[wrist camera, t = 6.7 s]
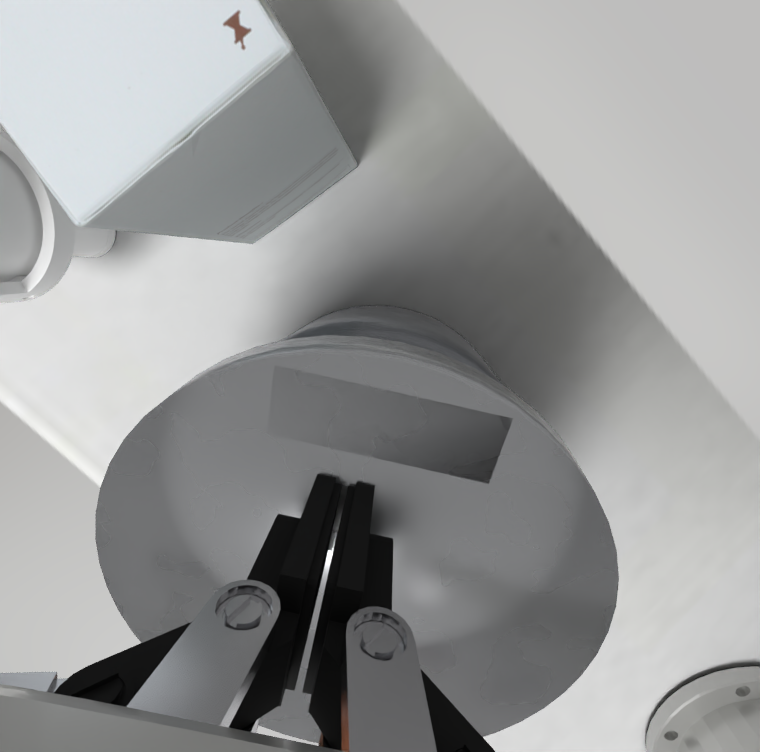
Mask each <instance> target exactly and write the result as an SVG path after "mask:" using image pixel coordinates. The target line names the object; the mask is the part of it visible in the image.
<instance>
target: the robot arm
mask: <svg viewBox="0 0 760 752" xmlns="http://www.w3.org/2000/svg"><path fill="white" fill-rule="evenodd" d="M335 481H336V477H331V476H327V475H322V474H317V476H316V479H315V481H314V484H313V487H312V489H311V492H310V495H309V497H308V500H307V503H306V505H305V508H304V511H303V513H302V516H301V518H296V517H292V516H287V515H282V514H278V515H277V517H276V518H275V520H274V523H273V525H272V527H271V529H270V531H269V533H268V535H267V537H266V540H265V542H264V544H263V546H262V548H261V550H260V552H259V554H258V557H257V559H256V561H255V563H254V565H253V567H252V569H251V571H250V574H249V576H248V578H247V580H238V581H235V582H231V583H228V584H227V585H225V586H223V587H221V588H220V589H219V590H218V591H216V592H215V593H214V594H213V595H212V597H211V598H210V599H209V601H208V602H207V603H206V604H205V606H204V607H203V608H202V610H201V611H200V612H199V614H198V615H197V616H196V617H195V619H194V620H193V621H192V622H190V623H188V624H185V625H183V626H181V627H178V628H176V629H174V630H171V631H169V632H167V633H164V634H162V635H159V636H157V637H155V638H152V639H150V640H148V641H145V642H143V643H141V644H139V645H136V646H134V647H131V648H129V649H127V650H124V651H122V652H120V653H117V654H115V655H113V656H110V657H108V658H106V659H104V660H101V661H99V662H96V663H94V664H92V665H90V666H88V667H85V668H84V669H82V670H80V671H78V672H76V673H75V674H73V675H72V676H70V677H69V678H67V679H57V672H29V673H28V672H27V673H0V752H495V751H494V750H493V748H492V747H491V746H490V745H489V744H488V743H487V742H486V741H485V740H484V738H483V737H482V736H481V735H480V734H479V733H478V732H477V731H476V730H475V728H474V727H473V726H472V725H471V724H470V723H469V722H468V721H467V720H466V718H465V717H464V716H463V715H462V714H461V713H460V712H459V711H458V709H457V708H456V707H455V706H454V705H453V704H452V703H451V702H450V701H449V699H448V698H447V697H446V696H445V695H444V694H443V693H442V692H441V691H440V689H439V688H438V687H437V686H436V685H435V684H434V683H433V682H432V681H431V679H430V678H429V677H428V676H427V675H426V674H425V673H424V672H423V671H422V669H421V668H420V664H419V659H418V654H417V649H416V644H415V639H414V636H413V633H412V630H411V628H410V626H409V625H408V624H407V622H406V621H405V620H404V619H403V618H402V617H401V616H399V615H398V614H397V613H395V612H393V611H392V583H393V538H389V537H385V536H380V535H375V534H371V533H370V527H371V518H372V508H373V499H374V490H375V486H373V485H368V484H364V483H359V482H356V486H355V487H353V486H348V488H347V492H346V497H345V501H344V506H343V510H342V515H341V519H340V523H339V528H338V532H337V537H336V541H335V546H334V550H333V555H332V559H331V564H330V568H329V572H328V577H327V581H326V586H325V590H324V595H323V600H322V604H321V609H320V613H319V618H318V622H317V627H316V631H315V636H314V641H313V645H312V650H311V654H310V659H309V663H308V668H307V673H306V677H305V682H304V686H303V691H302V693H307V694H311V699H310V704H309V709H308V712H309V713H310V714H311V716H312V718H313V719H314V721H315V722H316V724H317V726H318V727H319V729H320V730H321V733H320V739H319V746H315V745H311V744H306V743H301V742H296V741H291V740H287V739H282V738H277V737H272V736H267V735H262V734H258V733H256V732H257V728H258V725H259V721H260V718H261V717H262V716H264V715H265V714H267V713H268V712H270V711H271V710H273V709H275V708H276V707H278V706H280V707H281V704H282V700H283V696H284V693H285V689H288V690H293V691H295V687H296V683H297V679H298V675H299V671H300V666H301V662H302V658H303V654H304V650H305V646H306V642H307V638H308V633H309V629H310V625H311V621H312V617H313V613H314V609H315V604H316V600H317V596H318V592H319V588H320V584H321V580H322V575H323V571H324V567H325V562H326V558H327V553H328V548H329V544H330V539H331V534H332V530H333V525H334V520H335V516H336V511H337V506H338V502H339V497H340V493H341V488H342V484H339V483H335ZM646 751H647V752H760V667H758V666H751V667H736V668H731V669H726V670H721V671H716V672H714V673H711V674H708V675H705V676H702V677H700V678H697V679H696V680H694V681H692V682H690V683H688V684H686V685H684V686H683V687H681V688H680V689H679V690H677V691H676V692H675V693H673V694H672V695H671V696H669V697H668V698H667V700H666V701H665V702H664V703H663V704H662V705H661V706H660V707H659V708H658V710H657V712H656V713H655V715H654V717H653V719H652V720H651V722H650V725H649V728H648V732H647V735H646Z"/></svg>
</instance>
